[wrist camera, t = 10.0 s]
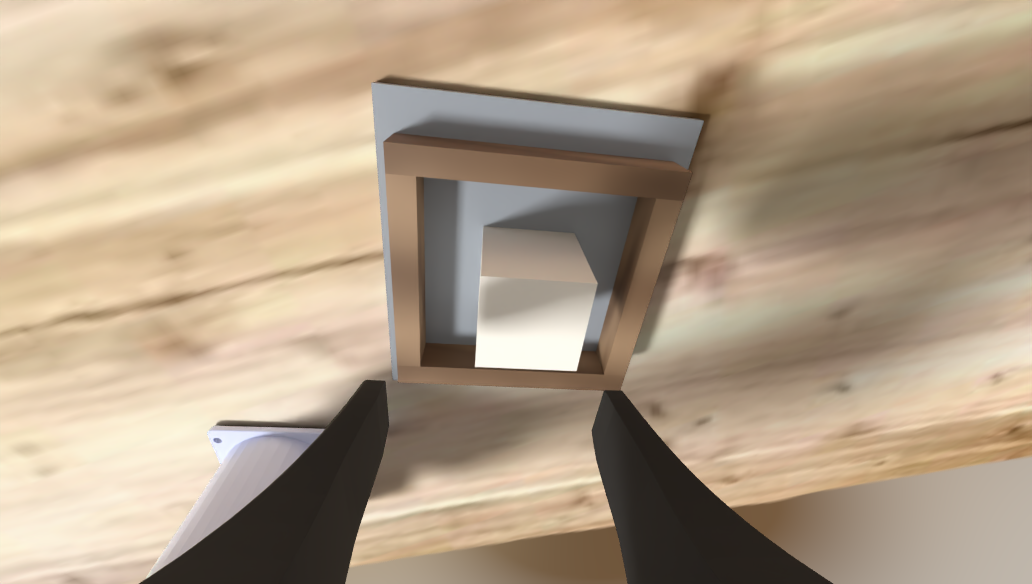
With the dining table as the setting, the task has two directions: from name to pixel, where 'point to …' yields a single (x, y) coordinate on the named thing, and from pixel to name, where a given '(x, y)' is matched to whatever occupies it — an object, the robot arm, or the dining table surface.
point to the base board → (514, 192)
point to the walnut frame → (537, 168)
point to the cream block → (532, 300)
